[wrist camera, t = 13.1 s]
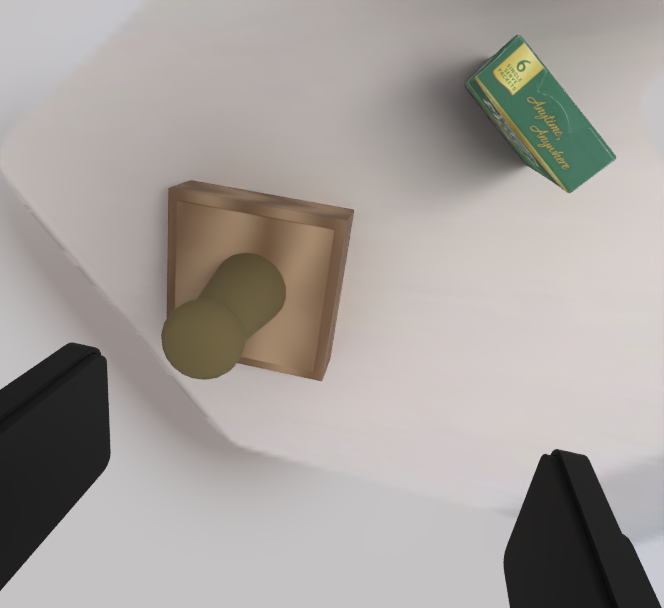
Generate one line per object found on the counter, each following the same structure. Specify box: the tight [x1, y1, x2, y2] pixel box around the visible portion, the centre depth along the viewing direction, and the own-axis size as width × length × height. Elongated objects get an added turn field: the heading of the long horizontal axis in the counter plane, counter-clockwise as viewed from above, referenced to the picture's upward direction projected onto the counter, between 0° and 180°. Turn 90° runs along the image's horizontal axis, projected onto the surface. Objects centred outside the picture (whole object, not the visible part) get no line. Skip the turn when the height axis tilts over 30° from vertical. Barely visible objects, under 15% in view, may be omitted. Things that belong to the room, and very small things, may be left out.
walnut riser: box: [167, 181, 354, 381], centre depth 43 cm, size 14×14×4 cm
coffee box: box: [465, 35, 616, 193], centre depth 31 cm, size 8×3×13 cm, turn 43°
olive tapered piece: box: [161, 253, 286, 379], centre depth 36 cm, size 6×6×11 cm
